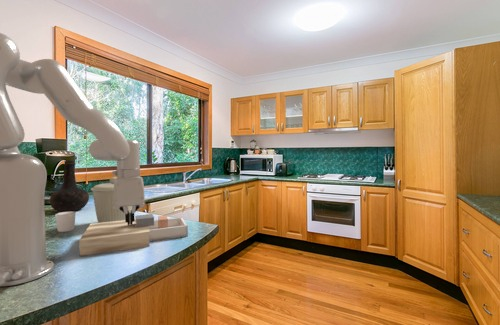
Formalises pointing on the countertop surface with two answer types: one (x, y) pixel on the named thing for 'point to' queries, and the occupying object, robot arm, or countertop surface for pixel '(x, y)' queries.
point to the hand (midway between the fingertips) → (130, 223)
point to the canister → (106, 203)
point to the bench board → (113, 237)
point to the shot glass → (65, 221)
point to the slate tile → (144, 220)
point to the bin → (168, 230)
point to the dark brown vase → (69, 192)
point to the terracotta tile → (162, 222)
